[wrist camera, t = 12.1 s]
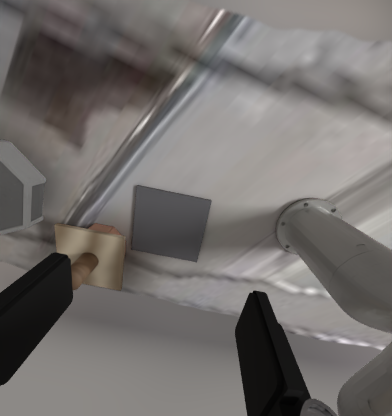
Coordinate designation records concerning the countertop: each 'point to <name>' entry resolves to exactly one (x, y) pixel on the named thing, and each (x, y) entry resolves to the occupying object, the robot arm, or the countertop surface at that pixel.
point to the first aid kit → (19, 190)
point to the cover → (92, 256)
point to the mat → (169, 223)
